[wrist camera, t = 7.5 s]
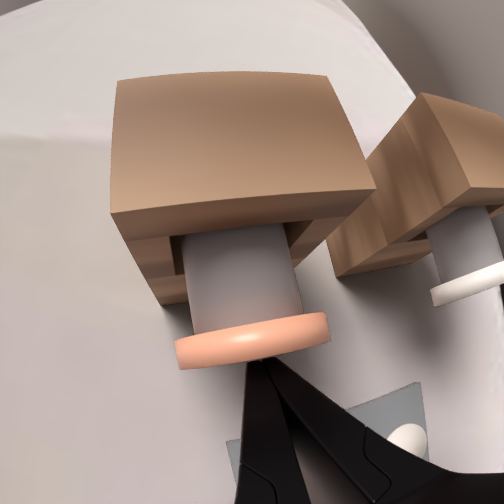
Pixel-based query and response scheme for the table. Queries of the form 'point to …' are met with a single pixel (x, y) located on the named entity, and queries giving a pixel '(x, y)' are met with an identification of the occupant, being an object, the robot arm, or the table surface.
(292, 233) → the post
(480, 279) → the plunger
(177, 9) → the table surface
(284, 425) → the robot arm
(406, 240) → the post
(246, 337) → the plunger
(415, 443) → the card
